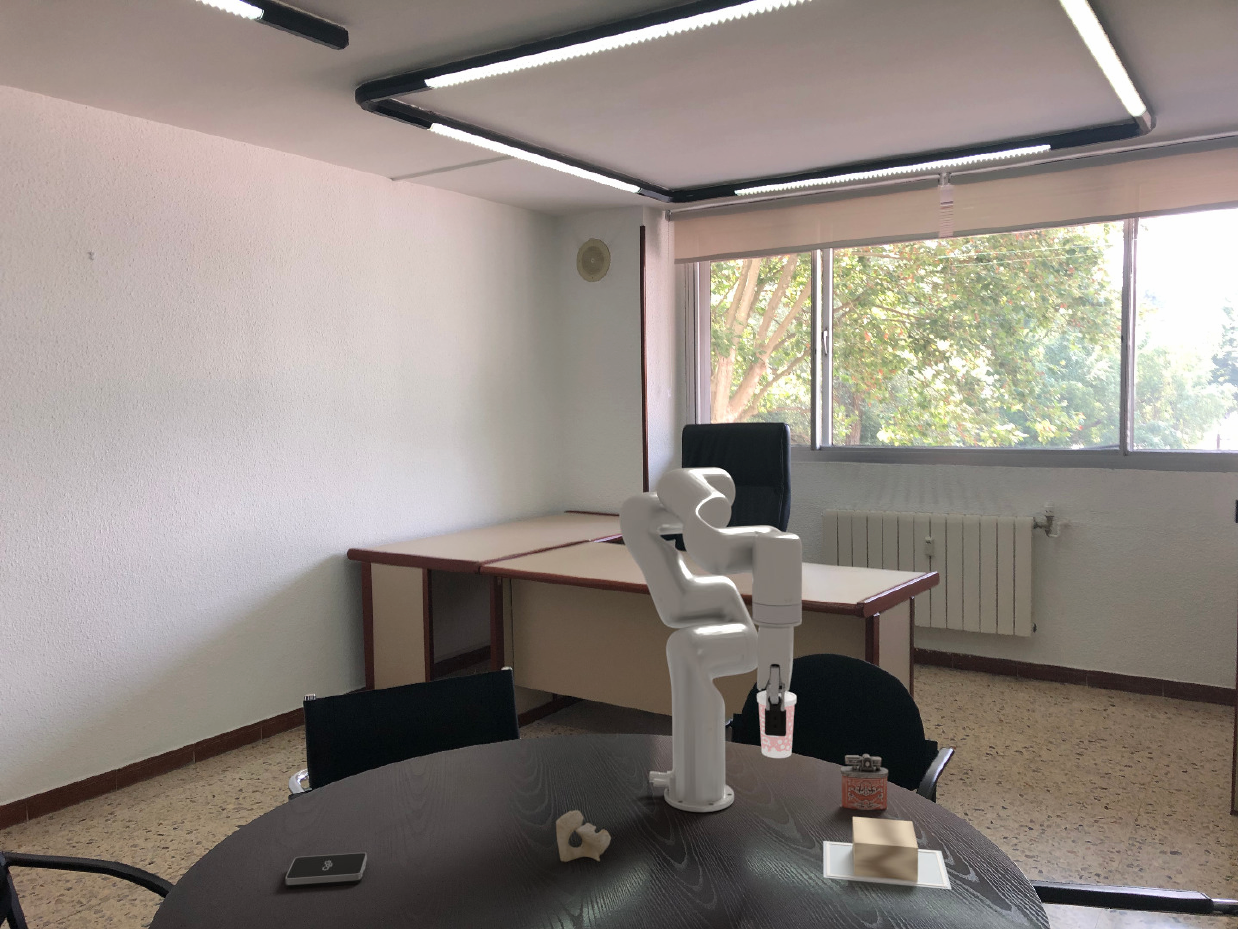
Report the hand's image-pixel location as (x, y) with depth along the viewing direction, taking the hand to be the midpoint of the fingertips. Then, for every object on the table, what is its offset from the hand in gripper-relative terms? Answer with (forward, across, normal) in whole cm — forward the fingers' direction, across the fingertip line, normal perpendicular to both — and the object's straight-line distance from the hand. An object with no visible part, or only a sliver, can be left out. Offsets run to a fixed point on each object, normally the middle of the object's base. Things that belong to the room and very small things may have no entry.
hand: (776, 726), depth 144 cm
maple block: (+20, 0, +16) cm, 26 cm away
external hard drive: (+22, +18, -67) cm, 73 cm away
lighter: (+21, -21, +14) cm, 33 cm away
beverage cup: (+4, 0, 0) cm, 4 cm away
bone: (+22, +4, -30) cm, 37 cm away
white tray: (+21, 0, +16) cm, 27 cm away
